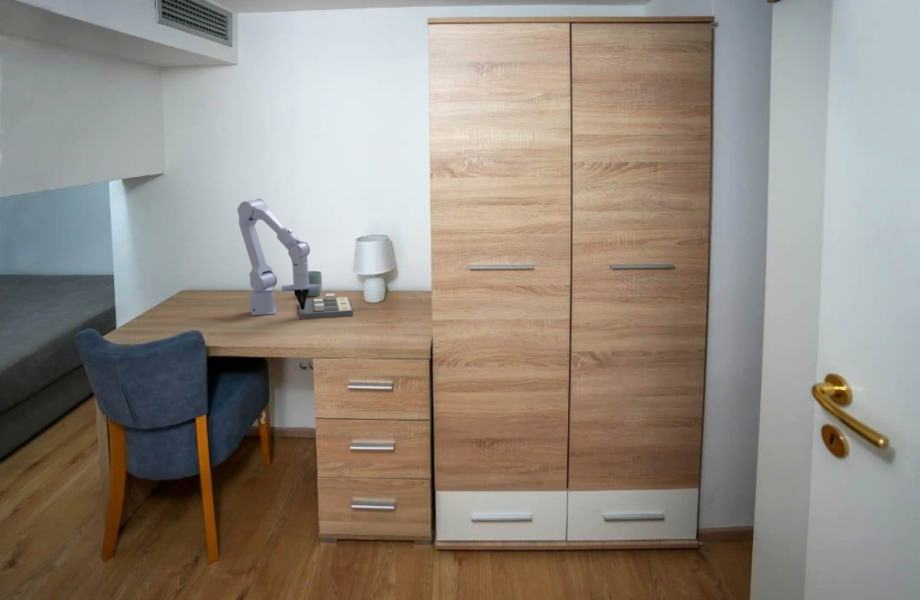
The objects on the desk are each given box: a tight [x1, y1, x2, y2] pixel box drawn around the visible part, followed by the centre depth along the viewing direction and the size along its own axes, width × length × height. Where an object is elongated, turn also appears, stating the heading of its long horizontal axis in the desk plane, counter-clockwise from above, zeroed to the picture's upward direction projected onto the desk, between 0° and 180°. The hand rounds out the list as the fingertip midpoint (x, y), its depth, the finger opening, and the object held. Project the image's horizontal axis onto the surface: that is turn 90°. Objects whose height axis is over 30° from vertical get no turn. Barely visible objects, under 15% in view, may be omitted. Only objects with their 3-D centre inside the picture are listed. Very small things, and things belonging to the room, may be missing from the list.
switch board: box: [298, 296, 354, 320], centre depth 321 cm, size 20×24×2 cm
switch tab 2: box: [325, 293, 336, 301], centre depth 328 cm, size 4×4×2 cm
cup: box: [307, 270, 323, 298], centre depth 344 cm, size 8×8×10 cm
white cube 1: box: [314, 303, 324, 311], centre depth 312 cm, size 4×4×2 cm
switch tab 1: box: [313, 298, 323, 304], centre depth 320 cm, size 4×4×2 cm
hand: (302, 309), depth 311 cm, fingers closed
